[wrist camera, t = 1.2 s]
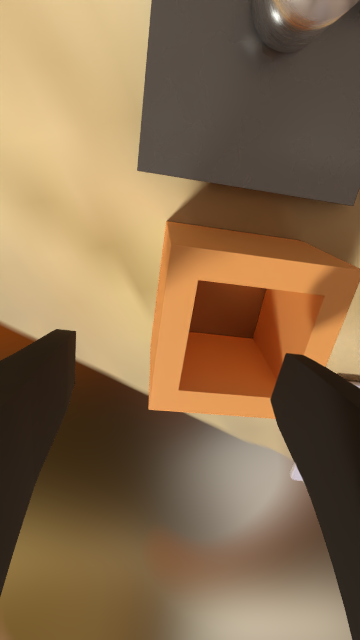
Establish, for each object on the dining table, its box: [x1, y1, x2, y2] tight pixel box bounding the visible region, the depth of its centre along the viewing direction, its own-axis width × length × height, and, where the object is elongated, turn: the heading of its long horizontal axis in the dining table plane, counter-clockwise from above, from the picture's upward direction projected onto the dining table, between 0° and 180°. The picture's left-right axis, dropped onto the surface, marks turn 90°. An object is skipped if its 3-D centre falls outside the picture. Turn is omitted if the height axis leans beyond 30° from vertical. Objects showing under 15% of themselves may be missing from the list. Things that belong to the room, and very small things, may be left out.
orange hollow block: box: [149, 221, 360, 419], centre depth 16 cm, size 8×8×6 cm
